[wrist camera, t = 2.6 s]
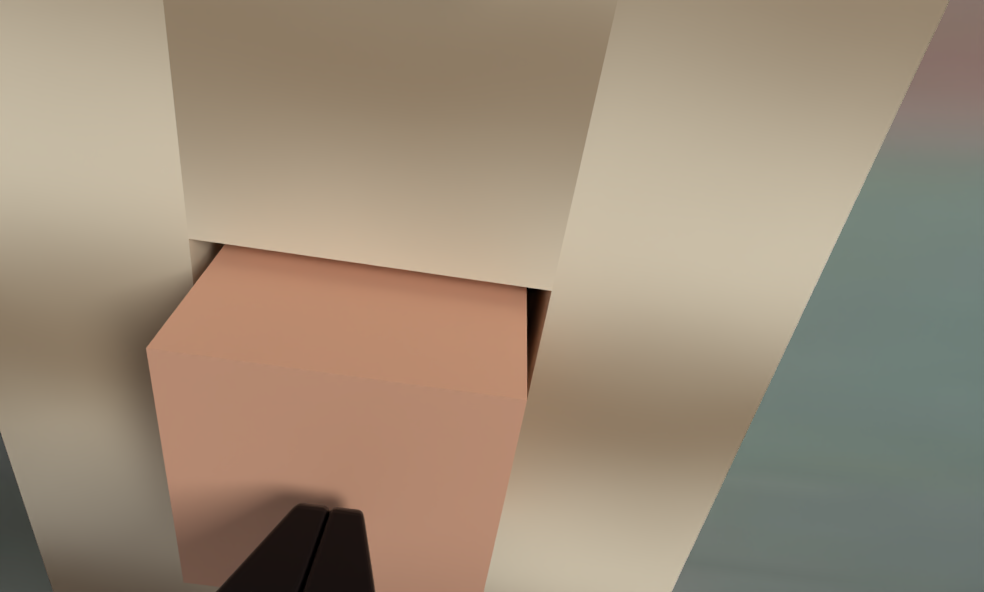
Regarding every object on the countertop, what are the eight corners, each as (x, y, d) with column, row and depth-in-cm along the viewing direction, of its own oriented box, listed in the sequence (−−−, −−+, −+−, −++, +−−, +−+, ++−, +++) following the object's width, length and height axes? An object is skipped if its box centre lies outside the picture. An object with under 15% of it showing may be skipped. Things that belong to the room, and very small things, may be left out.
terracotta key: (488, 450, 13) (477, 618, 10) (259, 419, 13) (183, 583, 10) (526, 253, 11) (527, 400, 8) (248, 212, 11) (146, 347, 8)
